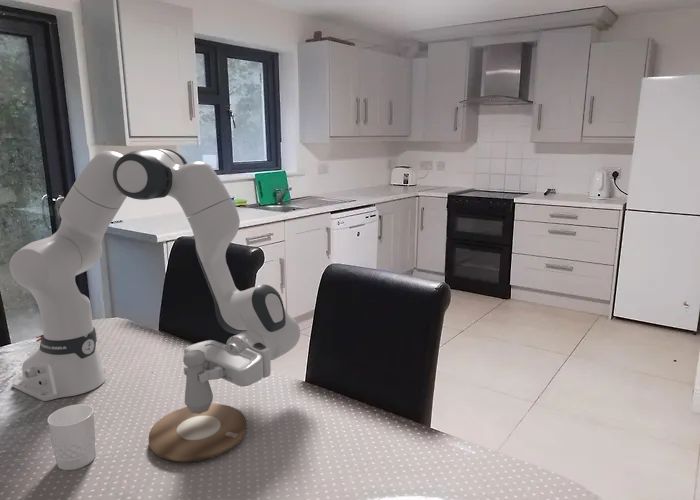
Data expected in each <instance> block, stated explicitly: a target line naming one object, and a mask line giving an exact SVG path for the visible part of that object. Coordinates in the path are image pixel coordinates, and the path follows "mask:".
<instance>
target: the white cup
mask: <svg viewBox="0 0 700 500" xmlns="http://www.w3.org/2000/svg"><path fill="white" fill-rule="evenodd" d="M94 410H95V409H94V407H93V406H91V405H89V404H87V403H86V404H85V403H79V404H70V405H67V406H64V407H61V408H59V409H57V410H54V411H53V412H52V413H51V414H50V415H48V417H47V420H46V421H47V426H48V430H49V435H50V442H51V445H52V449H53V454H54V457H55V461H56V465H57V467H58V469H60V470H63V471H75V470H78V469H82V468H85V466H88V465H90V464H91V463H92V462H93V461H94V460H95V458H96V452H97V451H96V429H95V428H96V426H95V413H94Z"/></svg>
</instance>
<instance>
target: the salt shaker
mask: <svg viewBox="0 0 700 500" xmlns="http://www.w3.org/2000/svg"><path fill="white" fill-rule="evenodd" d="M182 360H183V361H182V362H183V364H184V366H185V367H186V366H187V375H185V376H186V380H185V391H184V405H185V407H188V408H189V410H190V411H191V413H196V414H201V413H203V412H206V411H208V409H209V407H210V405H211V404H213V399H214V394H213V391H212V387H211V385H210V382H209V381H210V380H208V381H205V382H203V383H202V382H200V381H198V379H197V374H198V373H199V372H202V371H203V370H204V371H205V368H204V365H203V363H204V362H205V354H204V352H202V351H201V350H191V351H188V352H187V353H186V354H185V355H184V354H183V358H182Z"/></svg>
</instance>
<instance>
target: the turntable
mask: <svg viewBox="0 0 700 500" xmlns="http://www.w3.org/2000/svg"><path fill="white" fill-rule="evenodd" d="M247 429H248V425H247V418H246V415H244V413H243V412H242V411H241V410H239V409H237V408H235V407H233V406H231V405H227V404H223V403H221V404H220V403H211V405H210V407H209V409H208V411H206V412H203V413H201V414H196V413H191V411H190V410H189V408H188V407H187V406H185V407H182V408H179V409H176V410H173V411H172V412H169V413H167V414H166V415H164V416H162V417H161V418H159V419H158V420H157V422H155V423H154V425H153V426H152V427H151V429H150V430H149V433H148V445H149V448H150V450H151V451H152V452H153V453H154V454H155V455H156V456H158V457H161V458H162V459H166V460H168V461H174V462H196V461H202V460H207V459H211V458H213V457H217V456H220V455H222V454H223V453H226V452H228V451H230V450H232V449H233V448H234V447H236V446H237V445H238V444H239V443H240V442H241V441H242V440H243V439H244V437H245V436H246V433H247Z"/></svg>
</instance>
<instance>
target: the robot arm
mask: <svg viewBox="0 0 700 500" xmlns="http://www.w3.org/2000/svg"><path fill="white" fill-rule="evenodd" d="M167 196H168V197H171V198H173V199H175V201H176V202H177V203H178V204H179V206H180V207H181V210H182V211H183V213H184V215H185V217H186V219H187V221H188V223H189V225H190V228H191V231H192V233H193V237H194V242H195V245H194V246H195V247H194V248H195V254H196V257H197V259H198V263H199V266H200V268H201V270H202V273H203V276H204V278H205V280H206V281H205V282H206V285H207V286H208V289H209V291H210V294H211V296H212V301H213V305H214V311H215V317H216V320H217V322H218V324H219V326H220V327H221V328H222V329H223V330H224V331H226V332H227V333H230V334H234V335H232V336H230V337H229V338H228V339H227V341H226V343H223V342H219V341H217V340H213V339H208V340H204V341H200V342H196V343H193V344H190V345H188V346H186V347H185V348H184V350H183V356H184V355H185V354H186V353H187V352H188V351H191V350H201V351H202V352H204V354H205V362H204V363H203V365H204V368H205V371H204V370H203V371H202V372H199V373H198V374H197V379H198V381H200V382H202V383H203V382H205V381H215V380H221V379H222V380H224V381H227V382H229V383H232V384H234V385H236V386H238V387H248V386H252V385H254V384H255V383H257V382H259V381H261V380H262V379H266V378H268V377H270V376H271V371H272V369H271V368H272V367H271V365H272V364H271V363H272V362H271V361H274V360H276V359H279V358H280V357H281V356H282V357H283V356H284V355H286V354H287V353H288V352H290V351H291V350H293V349H294V348H295V347H296V346H297V344H298V343H299V340H300V337H301V329H300V326H299V323H298V321H297V320H296V319H295V318H294V317H292V316H291V315H290V314H289V313H288V312H287V311H286V309H285V307H284V306H285V305H284V302H283V299H282V296H281V295H280V293H279V292H278V291H277V289H276V288H274V287H273V286H271V285H269V284H259V285H256V286H253V287H250V288H247V289H245V290H239V289H238V288H237V287H236V285H235V282H234V280H233V277H232V274H231V271H230V269H229V268H230V267H229V266H228V264H227V257H226V256H227V255H226V253H227V249H228V248H229V246H230V244H231V243H232V242H233V240H234V239H235V237H236V236H237V234H238V231H239V228H240V222H241V221H240V216H239V212H238V209H237V207H236V205H235V203H234V201H233V199H232V198H231V195H230V193H229V192H228V190H227V188H226V186H225V184H224V183H223V181H222V180H221V178H220V176H218V174H217V173H216V171H215V170H214V168H212V166H211V165H210V164H209V163H207V162H204V161H200V160H199V161H191V162H188V161H187V160H186V158H185V157H184V156H183V155H182V154H180V153H179V152H177V151H175V150H172V149H169V148H168V149H167V148H146V149H144V150H143V149H142V150H132V151H130V152H127V153H125V154H123V153H120V152H118V151H115V150H103V151H100V152H98V153H96V155H95V156H94V157H93V158H92V159H91V160H90V161H89V162H88V163H86V166H84V168H83V169H82V170H81V172H80V173H79V175H78V176H77V178H76V180H75V181H74V182H73V185H72V186H71V188H70V189H69V191H68V193H67V194H66V196H65V198H64V200H63V201H62V203H61V204H60V206H59V210H58V214H59V217H60V219H61V220H60V225H59V227H58V229H57V231H55V232H54V233H53V234H51V235H50V236H47V237H45V238H42V239H38V240H35V241H31V242H29V243H28V244H26V245H25V246H23V247H22V248H20V249H18V250H17V251H16V252H14V253H13V255H12V256H11V257H10V260H9V271H10V274H11V276H12V278H13V280H14V281H15V282H16V283H17V284H18V285H19V286H21V287H23V288H25V289H27V290H28V291H29V292H30V293H31V295H32V297H33V298H34V300H35V302H36V304H37V307H38V310H39V315H40V321H41V327H42V335H39V336H36V337H35V341H36V342H40V344H39V347H38V349H37V350H36V351H35V352H33V353H32V354H31V355H30V356H28V357H27V358H26V359H25V360H24V361H23V363H22V367H21V369H22V371H21V372H22V373H21V374H22V375H21V376H19V377H18V378H16V379H15V380H14V381H13V382H12V388H13V389H14V388H15V389H16V390H18V391H20V392H22V393H24V394H27V395H29V396H31V397H34V398H36V399H38V400H40V401H42V402H47V401H52V400H55V399H56V400H57V399H59V398H67V397H74V396H78V395H83V394H85V393H88V392H90V391H93V390H95V389H97V388H98V387H100V386H101V385H102V384H104V382H105V381H106V380H107V376H106V373H105V372H106V366H105V364H103V361H102V357H101V353H100V350H99V349H100V347H99V345H98V343H97V341H98V340H97V339H98V338H97V332H96V328H95V327H94V321H93V314H92V313H93V311H92V305H91V300H90V298H89V297H88V296H86V295H85V294H83V293H81V291H80V289H79V287H78V285H77V283H76V276H78V275H80V274H83V273H84V272H87V271H89V270H90V269H92V267H93V266H95V265H96V264H97V263H98V262H99V261H100V259H102V256H103V250H104V249H103V245H102V244H103V241H104V240H103V239H104V237H105V234H106V233H107V230H108V228H109V227H110V225H111V223H112V221H113V220H114V219H115V217H116V215H117V214H118V212H119V210H120V209H121V207H122V205H123V204H124V202H125V201H126V199H127V198H130V199H134V200H139V201H147V200H154V199H161V198H165V197H167ZM36 339H37V340H36ZM183 374H184V375H185V376H187V366H186V365H185V366H184V367H183Z"/></svg>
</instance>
